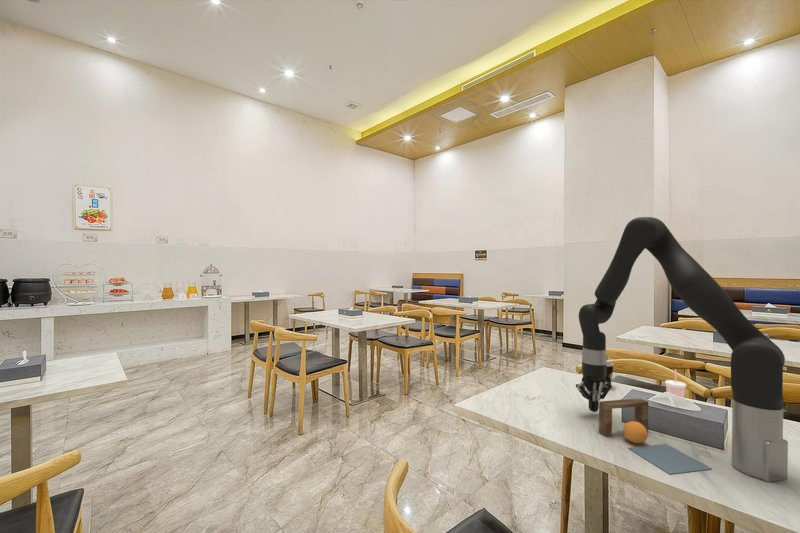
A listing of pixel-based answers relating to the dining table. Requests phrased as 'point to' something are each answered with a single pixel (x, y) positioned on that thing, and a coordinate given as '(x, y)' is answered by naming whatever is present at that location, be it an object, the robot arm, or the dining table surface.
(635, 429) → the ball
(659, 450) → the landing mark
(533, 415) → the dining table surface
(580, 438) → the dining table surface
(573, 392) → the dining table surface
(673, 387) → the beverage cup
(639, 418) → the bridge
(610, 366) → the coffee mug
